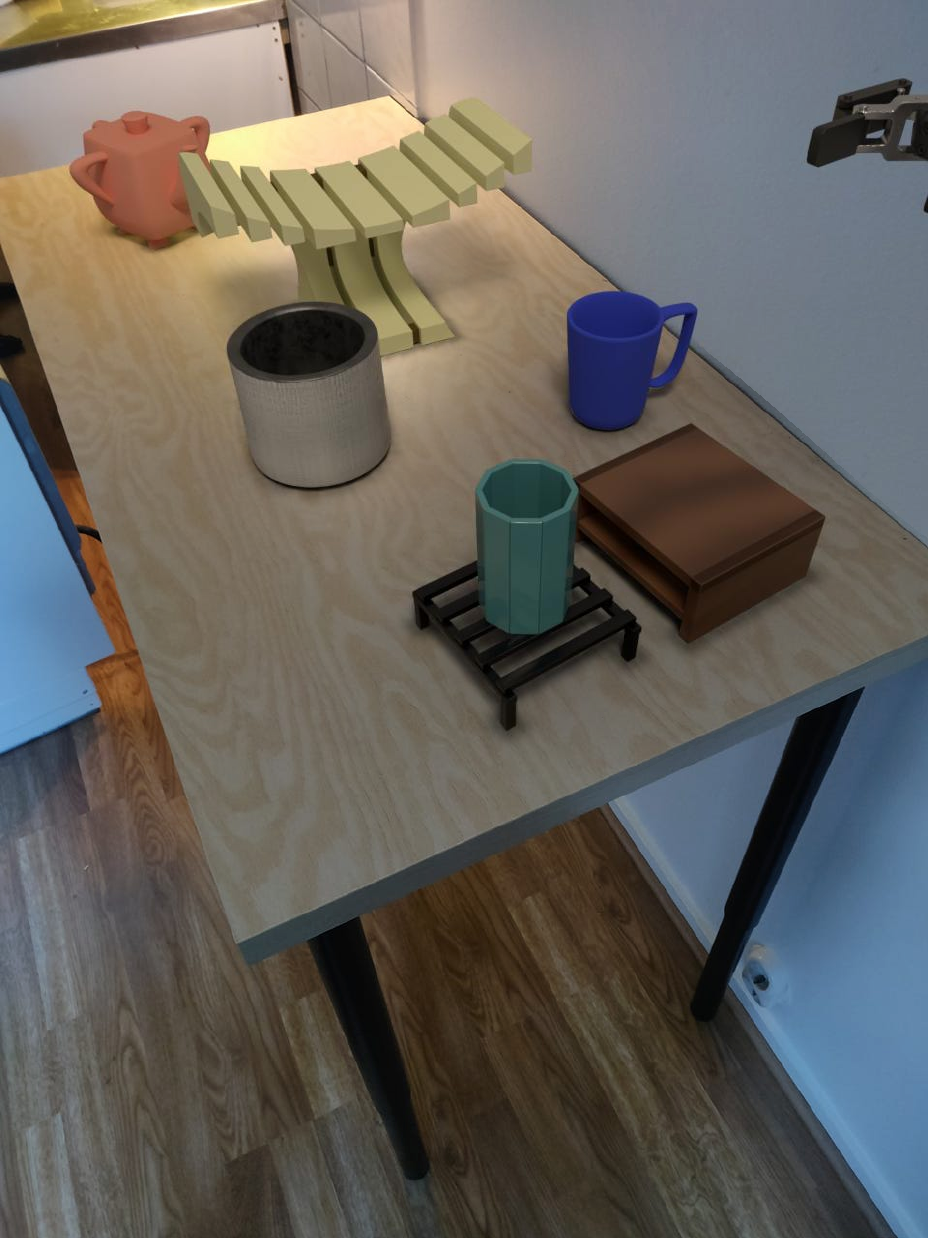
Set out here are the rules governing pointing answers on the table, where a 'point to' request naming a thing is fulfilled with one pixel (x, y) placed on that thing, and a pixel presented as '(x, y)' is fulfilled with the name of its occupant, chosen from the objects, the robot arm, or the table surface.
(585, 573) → the rack
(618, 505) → the shelf
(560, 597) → the cup
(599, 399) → the mug
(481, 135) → the slatted bench
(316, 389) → the planter
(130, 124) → the orange sugar pot
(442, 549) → the table surface
